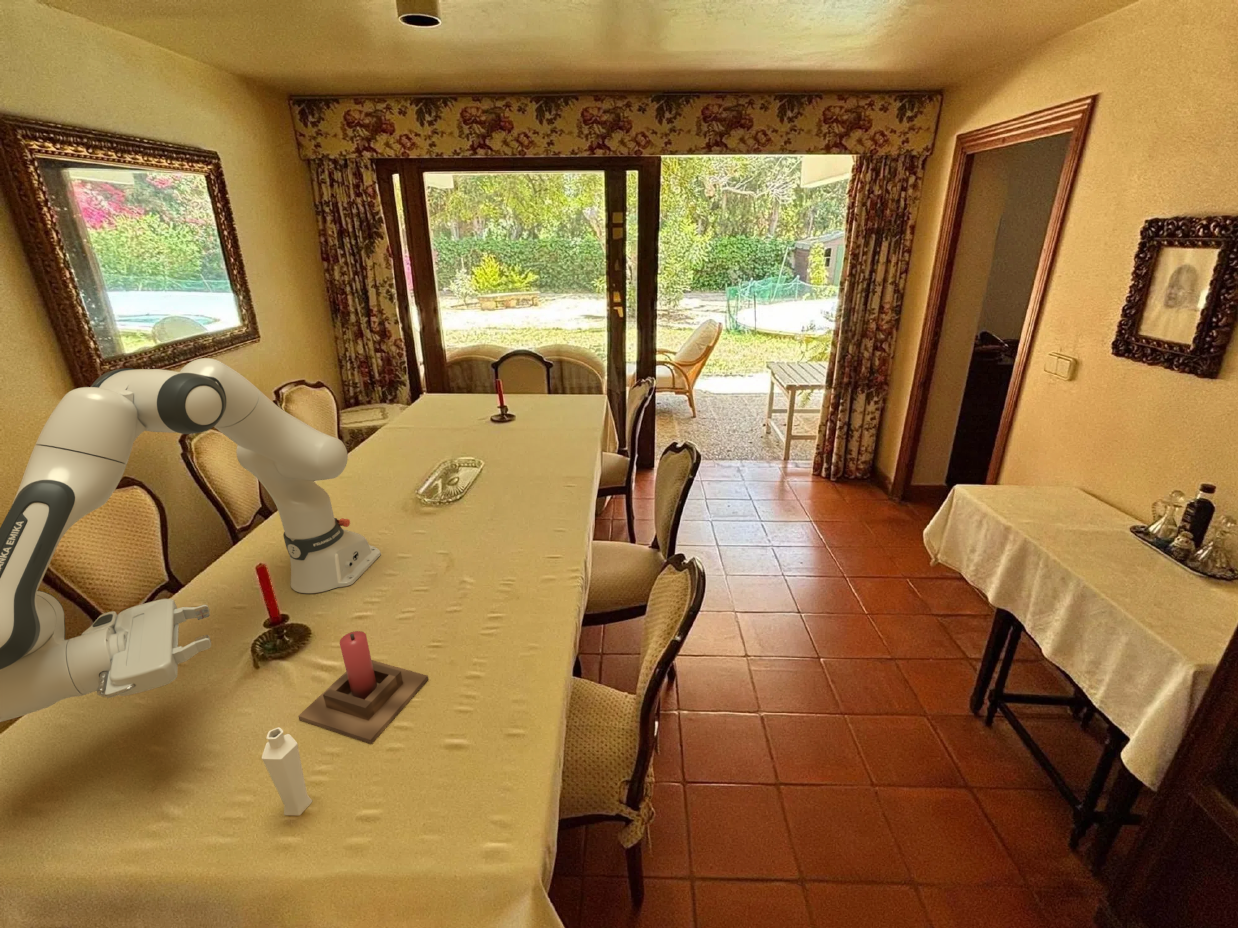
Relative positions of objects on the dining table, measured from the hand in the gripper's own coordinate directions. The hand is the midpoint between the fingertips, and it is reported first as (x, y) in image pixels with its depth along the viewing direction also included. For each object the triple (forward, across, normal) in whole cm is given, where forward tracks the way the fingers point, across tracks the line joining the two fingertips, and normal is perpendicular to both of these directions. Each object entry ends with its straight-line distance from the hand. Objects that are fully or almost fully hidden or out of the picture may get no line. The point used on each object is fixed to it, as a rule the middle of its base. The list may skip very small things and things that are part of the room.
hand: (209, 624), depth 96 cm
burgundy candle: (+20, -8, +20) cm, 29 cm away
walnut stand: (+20, -8, +21) cm, 30 cm away
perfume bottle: (+6, -25, +21) cm, 33 cm away
